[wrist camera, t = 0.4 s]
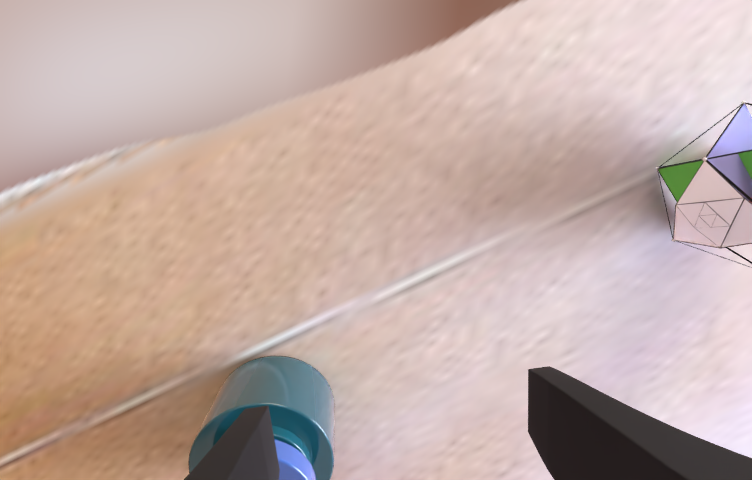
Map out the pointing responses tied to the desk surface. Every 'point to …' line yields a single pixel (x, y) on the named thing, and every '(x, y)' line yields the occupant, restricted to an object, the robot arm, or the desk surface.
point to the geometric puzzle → (715, 189)
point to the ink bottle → (278, 414)
